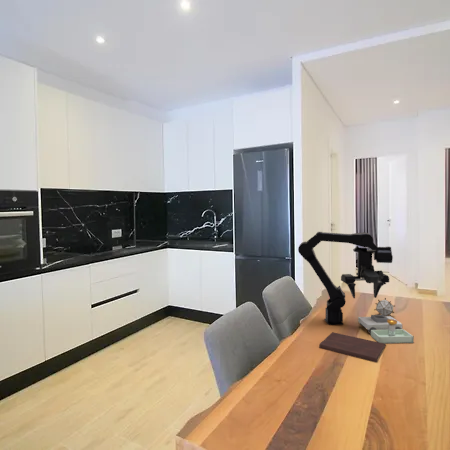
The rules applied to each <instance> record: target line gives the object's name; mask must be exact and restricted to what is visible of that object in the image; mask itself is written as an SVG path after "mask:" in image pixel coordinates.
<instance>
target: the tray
mask: <svg viewBox="0 0 450 450" xmlns="http://www.w3.org/2000/svg"><path fill="white" fill-rule="evenodd" d="M370 337H371V338H372V339H373V340H375V342H379V343H384V344H414V340H415V339H414V335H413V334H411V333H410V332H408V331H407V330H406V329H403V328H402V329H395V336H388V329H377V330H371V334H370Z"/></svg>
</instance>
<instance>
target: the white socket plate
mask: <svg viewBox="0 0 450 450" xmlns="http://www.w3.org/2000/svg"><path fill="white" fill-rule="evenodd" d="M388 319H393V320H396V321H397V324H395V329H403V323H401V321H398V320H397V319H395V318H394V317H392V315H391V316H390V315H388V316H384V315H381V314H371V315H370V316H358V319H357V321H358V323H359V325H360V326H361V327H362V326H363V327H364V328H365V329H366V330H367V332H368V333H369V334H370V335H371V330H388V324H389V323H387V320H388Z"/></svg>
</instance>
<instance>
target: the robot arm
mask: <svg viewBox="0 0 450 450" xmlns="http://www.w3.org/2000/svg"><path fill="white" fill-rule="evenodd" d="M321 242H329V243H343V244H351V245H354V246H355V248H353V249H352V250H353V252H355V253H357V263H356V266H357V272H355V273H356V275H353V274H351V273H342V274H341V276H340V281H341V282H343V283H345V284H346V285H347V287H348V289H349V291H350V293H351V297H352V298H353V299H356V283H355V282H356V281H365V282H366V283H367V284H373V285H372V286H373V287H372V288H373V298H375V299H376V298H378V294H379V291H380V289H381V288H382V287H383V286H384V285H387V283H390V276H389V275H387V274H385V273H384V272H383V271H382V270H375V267H374V264H373V260H374V261H375V262H376V263H378V264H379V263H382V264H392V263H393V259H394V257H393V256H394V255H393V253H392V252H393V251H392V247H391V246H377V244H375V243H374V237H373V236H372V235H371V234H370V233H368V232H363V231H362V232H356V233H337V232H323V231H317V232H316V234H314V235H313V236H312V237H311V238H310V239H308V240H306V241H303V242H301V243H300V244H299V246H298V253H299V254H300V256H301V257H302V258H303V259H304V260H306V261H307V263H309V265H310V266H311V267H312V269H313V271H314V272H315V274H316V276H317V277H318V279H319V280H320V282H321V284H322V285H323V286H324V288H325V289H326V291H327V294H328V297H329V298H328V299H327V300H326V307H325V318H324V319H323V320H324V321H325V323H326V324H327V325H330V326H331V325H332V326H334V325H335V326H337V325H339V326H340V325H344V323H343V322H344V319H343V317H344V313H343V309H342V308H343V307H344V306H345V305H346V302H347V301H346V294H345V292H344V290H343V289H342V287H341V285H339V286H336V285H335V283H334V282H333V281H332V279H331V278H330V276H329V275H328V273H327V272H326V270H325V269H324V267H323V265H322V264H321V263H320V261H319V259H318V258H317V256H316V252H315V250H314V248H315V247H316V246H317V245H319V244H320V243H321ZM368 248H369V249H368Z"/></svg>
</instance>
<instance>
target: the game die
mask: <svg viewBox="0 0 450 450" xmlns="http://www.w3.org/2000/svg"><path fill="white" fill-rule="evenodd" d="M374 304H375V305H376V306H375V308H374V310H373V311H376V312H377V313H378V315H384V316H391V317H392V314H395V311H394V307H396V305H393V303H392V300H390V301H389V300H387V298H386V297H384V299H381V300H380V299H378V302H375V303H374Z"/></svg>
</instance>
